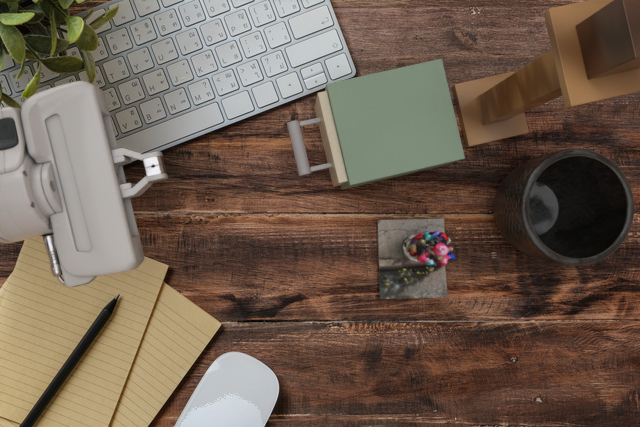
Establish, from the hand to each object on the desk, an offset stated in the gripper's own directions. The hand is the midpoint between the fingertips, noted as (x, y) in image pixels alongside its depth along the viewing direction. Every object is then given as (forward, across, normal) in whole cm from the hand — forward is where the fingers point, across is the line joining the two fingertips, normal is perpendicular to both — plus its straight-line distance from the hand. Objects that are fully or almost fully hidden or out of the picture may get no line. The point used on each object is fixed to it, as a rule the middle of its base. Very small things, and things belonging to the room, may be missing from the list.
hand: (164, 164), depth 51 cm
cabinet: (+27, 0, +16) cm, 31 cm away
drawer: (+23, 0, +15) cm, 27 cm away
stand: (+43, 0, +16) cm, 46 cm away
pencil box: (+43, 0, -10) cm, 44 cm away
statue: (+27, -18, +16) cm, 36 cm away
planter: (+45, -15, +16) cm, 50 cm away
